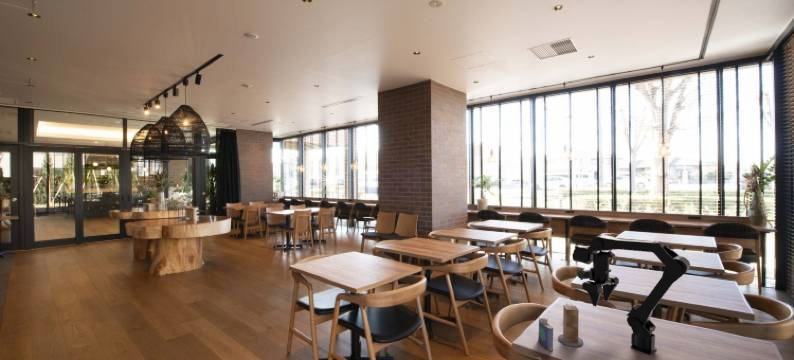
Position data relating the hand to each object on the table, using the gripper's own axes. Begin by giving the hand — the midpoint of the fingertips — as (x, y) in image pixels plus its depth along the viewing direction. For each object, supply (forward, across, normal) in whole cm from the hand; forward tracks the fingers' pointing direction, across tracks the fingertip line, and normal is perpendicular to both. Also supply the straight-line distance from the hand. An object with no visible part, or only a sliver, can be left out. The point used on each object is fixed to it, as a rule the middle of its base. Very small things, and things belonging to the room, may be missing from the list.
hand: (600, 303), depth 144 cm
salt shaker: (+13, -5, -16) cm, 21 cm away
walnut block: (+12, +15, -4) cm, 20 cm away
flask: (+13, +26, -8) cm, 30 cm away
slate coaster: (+13, +15, -4) cm, 20 cm away
